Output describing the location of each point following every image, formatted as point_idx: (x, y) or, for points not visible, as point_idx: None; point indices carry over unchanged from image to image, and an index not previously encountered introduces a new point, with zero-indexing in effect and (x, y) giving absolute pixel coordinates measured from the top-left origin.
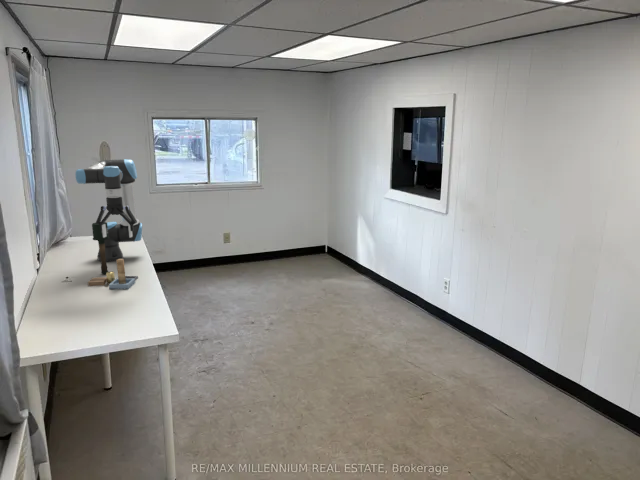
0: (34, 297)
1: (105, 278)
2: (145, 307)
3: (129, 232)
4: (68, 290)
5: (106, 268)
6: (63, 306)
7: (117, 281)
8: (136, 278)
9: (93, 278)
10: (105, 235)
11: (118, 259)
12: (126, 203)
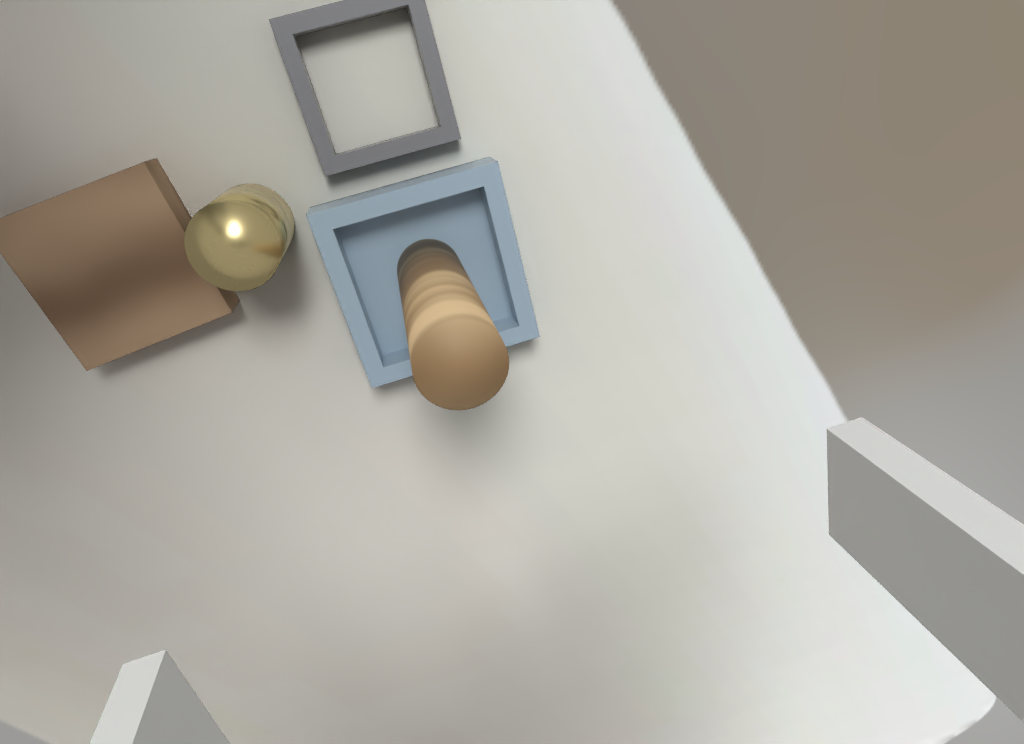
0: None
1: (160, 216)
2: (805, 551)
3: (943, 624)
4: (45, 499)
5: None
6: (326, 701)
7: (336, 230)
8: (433, 41)
9: (20, 251)
10: (188, 733)
11: (432, 364)
12: None
